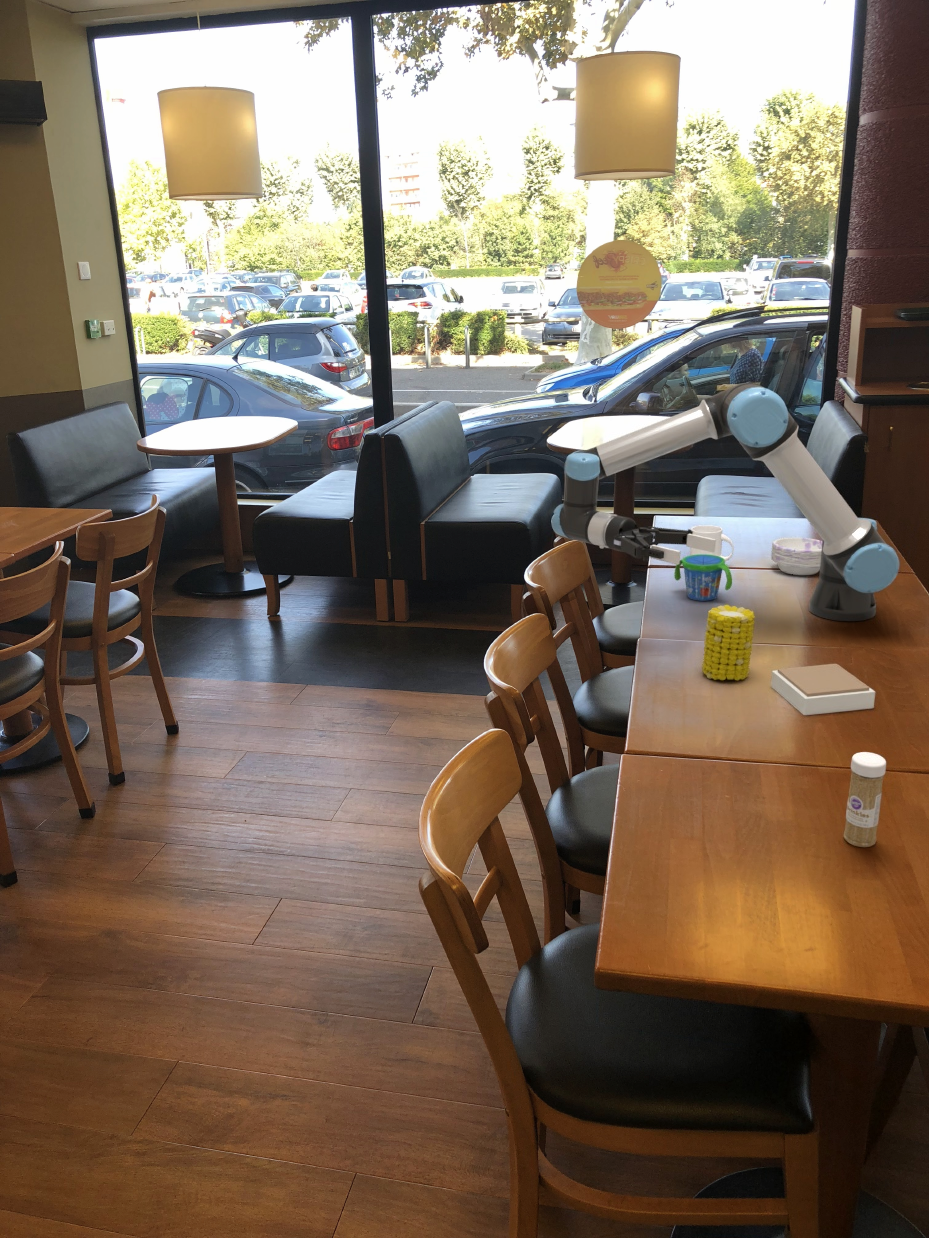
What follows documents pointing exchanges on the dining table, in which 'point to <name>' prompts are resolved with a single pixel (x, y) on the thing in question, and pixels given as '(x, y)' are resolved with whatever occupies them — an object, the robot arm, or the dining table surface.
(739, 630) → the food
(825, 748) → the dining table surface
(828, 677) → the plinth
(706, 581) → the snack cup
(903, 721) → the dining table surface
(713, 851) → the dining table surface
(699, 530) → the mug
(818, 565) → the paper bowls
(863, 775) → the sprinkles bottle
